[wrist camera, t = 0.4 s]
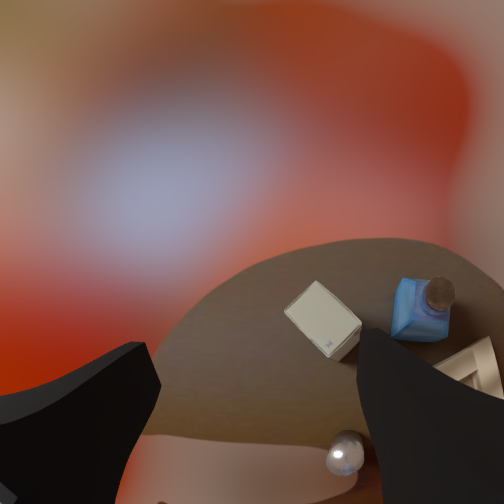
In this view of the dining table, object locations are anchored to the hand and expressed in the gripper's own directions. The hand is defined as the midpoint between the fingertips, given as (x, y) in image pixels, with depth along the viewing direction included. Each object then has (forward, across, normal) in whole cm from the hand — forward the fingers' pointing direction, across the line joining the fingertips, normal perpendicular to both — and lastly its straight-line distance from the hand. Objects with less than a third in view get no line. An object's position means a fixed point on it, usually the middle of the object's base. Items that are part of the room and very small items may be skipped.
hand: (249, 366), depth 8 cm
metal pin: (+14, -7, +26) cm, 30 cm away
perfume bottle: (+22, -17, +13) cm, 31 cm away
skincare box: (+24, -6, +14) cm, 28 cm away
